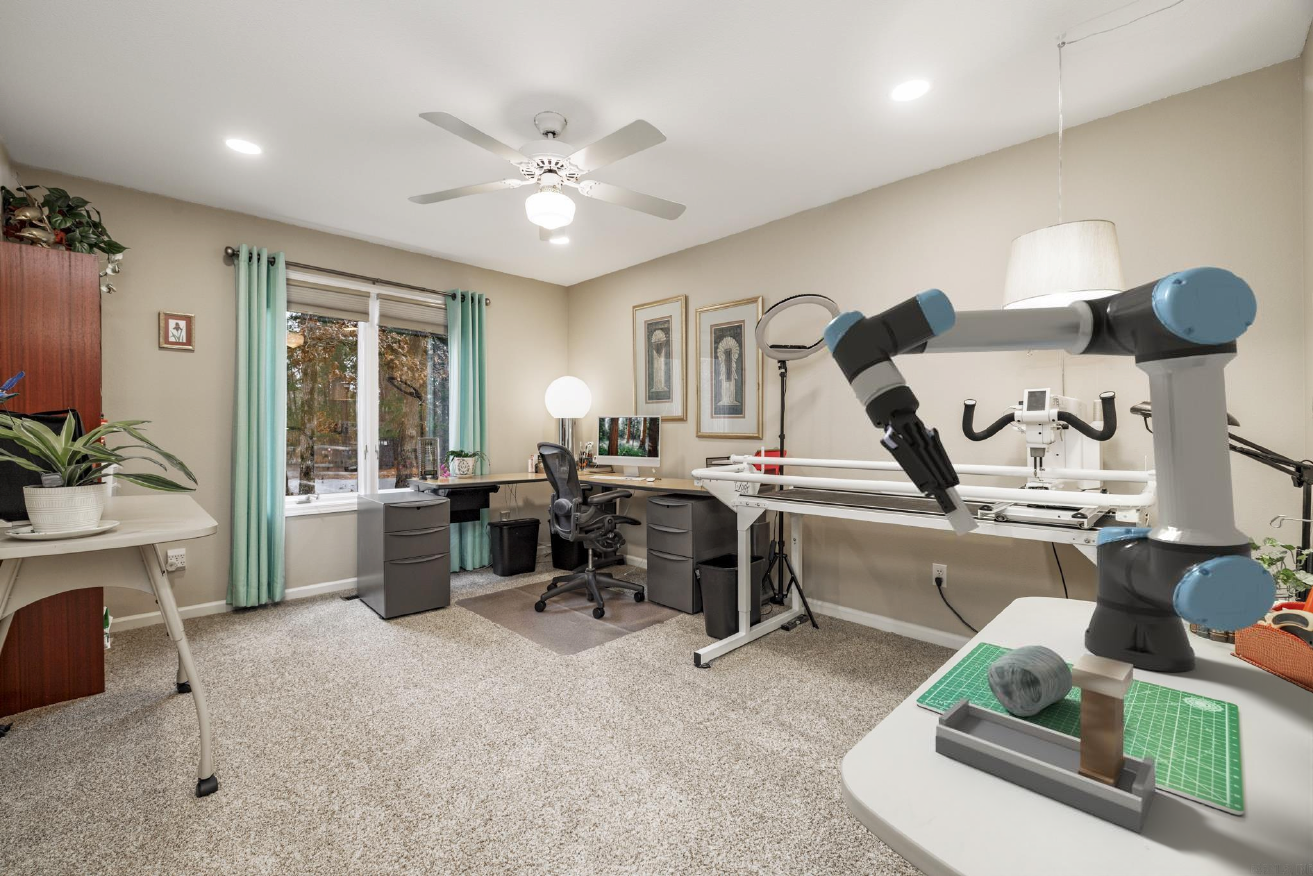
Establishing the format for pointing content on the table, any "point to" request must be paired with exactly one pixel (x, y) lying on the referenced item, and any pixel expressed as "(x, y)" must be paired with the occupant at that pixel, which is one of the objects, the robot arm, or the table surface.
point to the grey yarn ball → (1029, 679)
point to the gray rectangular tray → (1044, 763)
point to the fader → (1102, 716)
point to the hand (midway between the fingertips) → (968, 531)
